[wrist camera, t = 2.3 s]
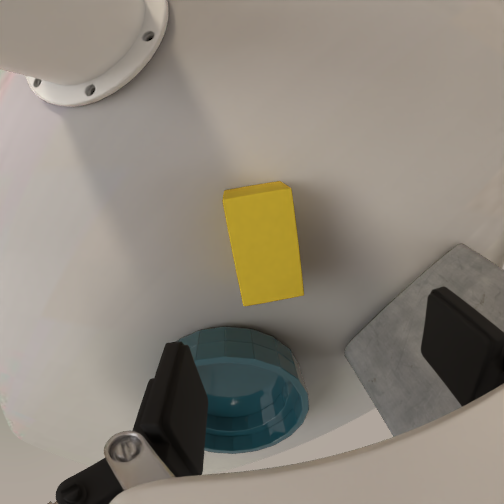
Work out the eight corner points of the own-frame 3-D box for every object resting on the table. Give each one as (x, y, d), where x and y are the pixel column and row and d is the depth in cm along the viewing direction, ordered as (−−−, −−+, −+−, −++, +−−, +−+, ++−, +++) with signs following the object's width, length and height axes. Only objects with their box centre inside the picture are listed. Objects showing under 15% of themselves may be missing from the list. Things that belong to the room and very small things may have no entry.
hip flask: (352, 364, 26) (452, 535, 8) (334, 345, 24) (448, 545, 6) (468, 259, 24) (606, 374, 6) (462, 230, 22) (623, 351, 4)
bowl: (139, 333, 24) (126, 366, 20) (292, 310, 24) (304, 342, 20) (184, 425, 28) (180, 457, 24) (302, 410, 28) (310, 441, 24)
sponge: (223, 190, 20) (222, 199, 17) (280, 180, 20) (291, 187, 17) (241, 281, 23) (243, 307, 19) (292, 271, 23) (304, 295, 19)
